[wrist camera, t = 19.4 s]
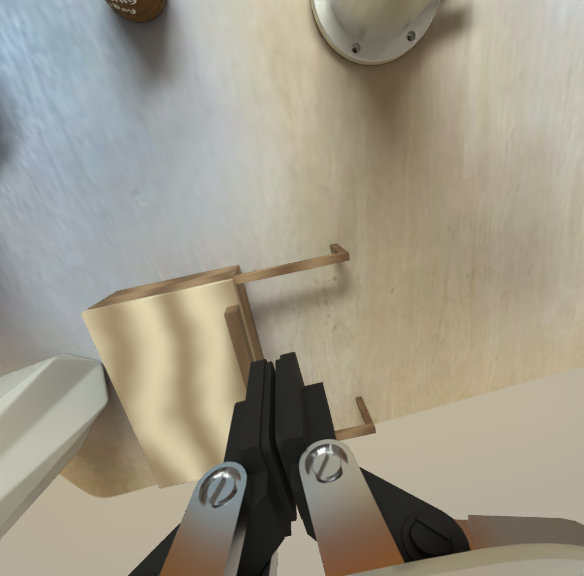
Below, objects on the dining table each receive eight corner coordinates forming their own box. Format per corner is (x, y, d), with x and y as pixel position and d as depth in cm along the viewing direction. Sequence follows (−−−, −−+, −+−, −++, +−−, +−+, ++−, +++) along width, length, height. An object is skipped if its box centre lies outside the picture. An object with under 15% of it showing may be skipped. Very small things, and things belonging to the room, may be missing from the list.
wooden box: (336, 243, 36) (348, 252, 31) (362, 401, 43) (375, 432, 37) (116, 291, 36) (87, 308, 31) (177, 441, 43) (162, 478, 38)
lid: (233, 278, 30) (229, 286, 27) (282, 455, 37) (282, 476, 34) (87, 309, 30) (67, 321, 28) (162, 480, 37) (153, 504, 34)
